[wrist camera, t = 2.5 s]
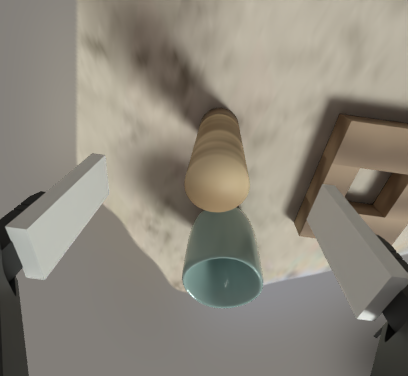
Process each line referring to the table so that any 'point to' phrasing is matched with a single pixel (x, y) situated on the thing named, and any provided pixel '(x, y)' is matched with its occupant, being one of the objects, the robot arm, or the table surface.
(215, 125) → the peg
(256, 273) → the cup
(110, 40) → the table surface
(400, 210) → the box with square hole
